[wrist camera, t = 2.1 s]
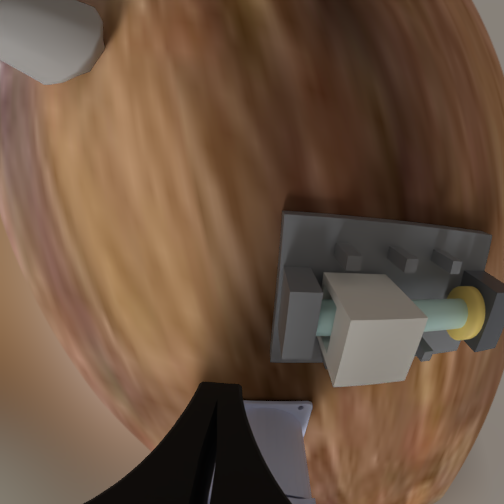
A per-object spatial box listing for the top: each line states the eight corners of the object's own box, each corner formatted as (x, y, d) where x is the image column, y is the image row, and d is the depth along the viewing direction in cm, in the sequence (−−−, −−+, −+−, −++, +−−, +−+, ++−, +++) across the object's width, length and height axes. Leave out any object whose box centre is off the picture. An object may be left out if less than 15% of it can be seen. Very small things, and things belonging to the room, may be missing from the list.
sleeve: (314, 328, 18) (333, 386, 13) (323, 272, 17) (350, 320, 11) (372, 327, 18) (404, 380, 13) (385, 274, 17) (428, 317, 11)
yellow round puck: (438, 323, 18) (463, 350, 14) (452, 277, 17) (482, 300, 13) (447, 323, 18) (472, 348, 14) (461, 278, 17) (492, 299, 13)
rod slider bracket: (269, 352, 20) (273, 404, 15) (282, 210, 17) (293, 231, 12) (450, 343, 20) (480, 378, 15) (482, 231, 17) (527, 251, 12)
